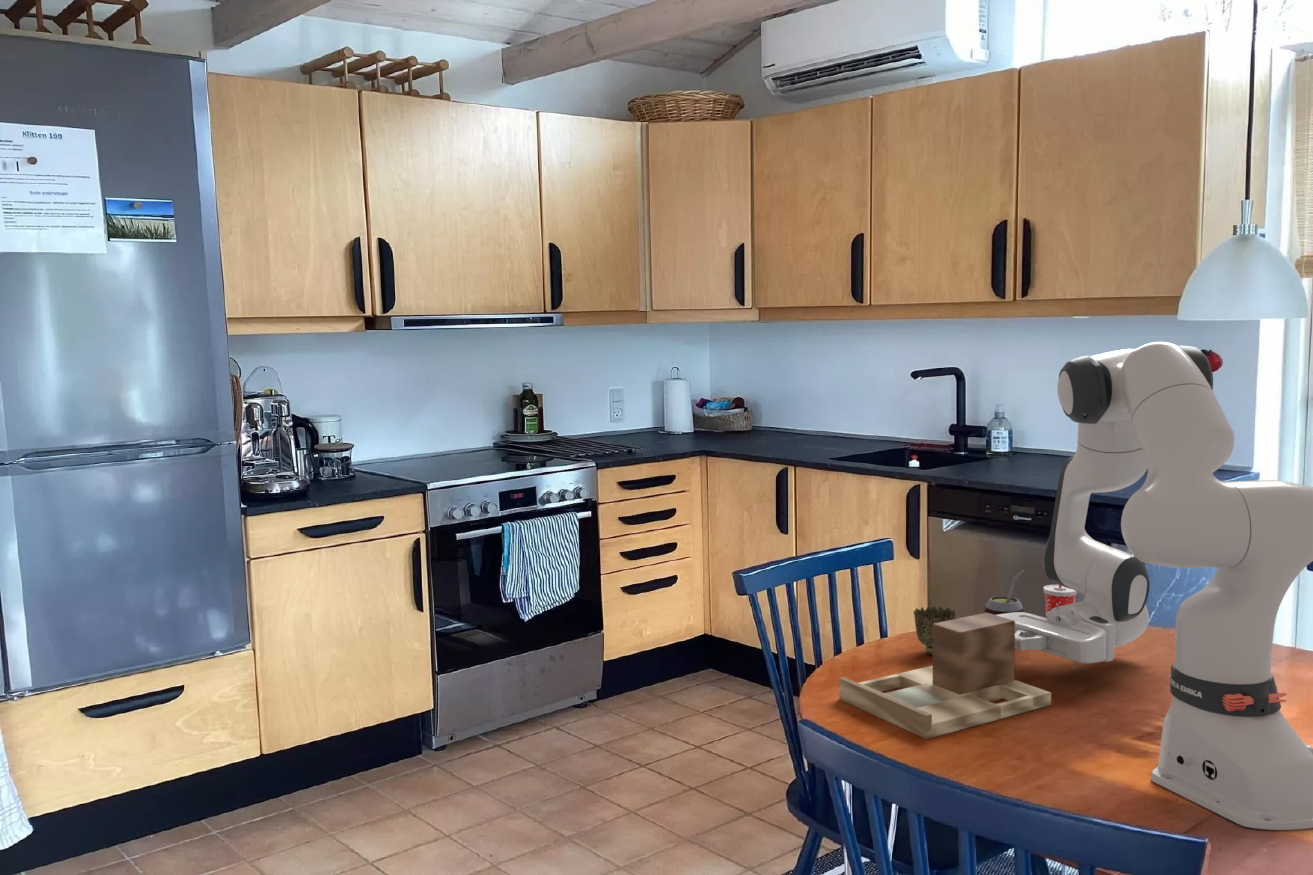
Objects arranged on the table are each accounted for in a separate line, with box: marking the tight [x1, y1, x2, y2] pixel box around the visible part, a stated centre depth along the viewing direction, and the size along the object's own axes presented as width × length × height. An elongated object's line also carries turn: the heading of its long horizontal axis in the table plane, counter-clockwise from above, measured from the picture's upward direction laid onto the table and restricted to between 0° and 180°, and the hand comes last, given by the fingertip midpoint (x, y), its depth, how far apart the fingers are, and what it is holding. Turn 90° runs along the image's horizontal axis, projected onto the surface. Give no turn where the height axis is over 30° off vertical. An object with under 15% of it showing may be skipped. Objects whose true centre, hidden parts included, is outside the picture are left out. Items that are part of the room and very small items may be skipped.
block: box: [932, 612, 1016, 695], centre depth 172 cm, size 12×6×10 cm, turn 119°
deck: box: [838, 665, 1052, 740], centre depth 169 cm, size 26×20×4 cm
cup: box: [913, 605, 957, 656], centre depth 194 cm, size 8×7×8 cm
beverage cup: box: [1043, 584, 1078, 618], centre depth 204 cm, size 6×6×14 cm
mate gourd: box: [984, 568, 1027, 615], centre depth 200 cm, size 8×8×15 cm
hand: (1014, 643), depth 176 cm, fingers closed
